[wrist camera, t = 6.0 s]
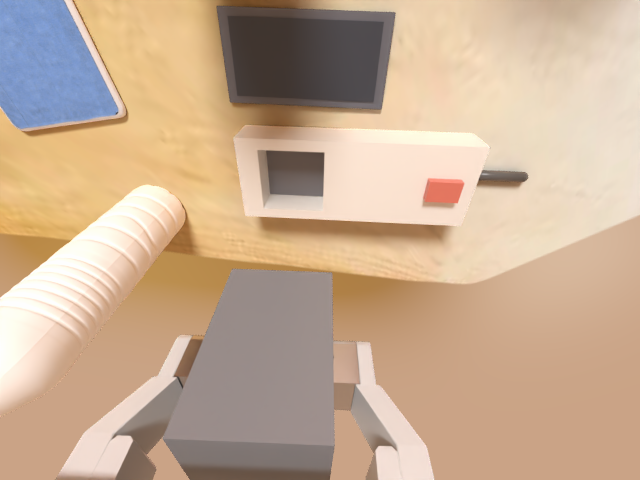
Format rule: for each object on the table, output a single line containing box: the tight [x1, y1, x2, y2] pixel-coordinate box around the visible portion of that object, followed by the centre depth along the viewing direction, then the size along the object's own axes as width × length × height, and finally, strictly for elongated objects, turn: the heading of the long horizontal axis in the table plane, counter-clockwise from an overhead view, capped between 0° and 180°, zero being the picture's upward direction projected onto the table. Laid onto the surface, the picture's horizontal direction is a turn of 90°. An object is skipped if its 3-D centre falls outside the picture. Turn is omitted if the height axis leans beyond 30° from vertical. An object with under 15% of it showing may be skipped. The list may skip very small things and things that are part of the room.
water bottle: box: [0, 185, 186, 417], centre depth 24 cm, size 9×6×25 cm
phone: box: [217, 6, 395, 109], centre depth 25 cm, size 14×7×1 cm, turn 88°
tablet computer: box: [0, 0, 126, 131], centre depth 24 cm, size 19×13×1 cm, turn 8°
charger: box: [163, 269, 335, 480], centre depth 10 cm, size 4×4×6 cm
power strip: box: [233, 125, 528, 226], centre depth 29 cm, size 28×8×5 cm, turn 89°
